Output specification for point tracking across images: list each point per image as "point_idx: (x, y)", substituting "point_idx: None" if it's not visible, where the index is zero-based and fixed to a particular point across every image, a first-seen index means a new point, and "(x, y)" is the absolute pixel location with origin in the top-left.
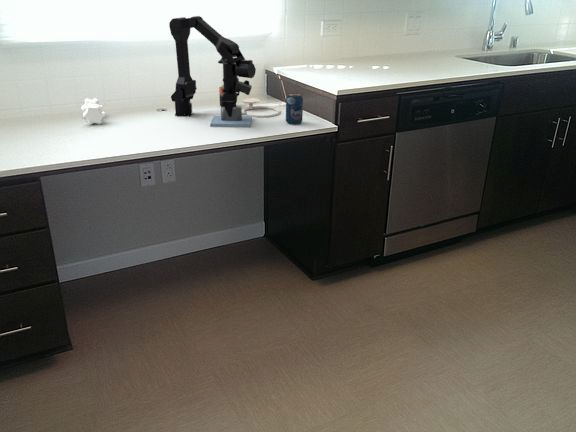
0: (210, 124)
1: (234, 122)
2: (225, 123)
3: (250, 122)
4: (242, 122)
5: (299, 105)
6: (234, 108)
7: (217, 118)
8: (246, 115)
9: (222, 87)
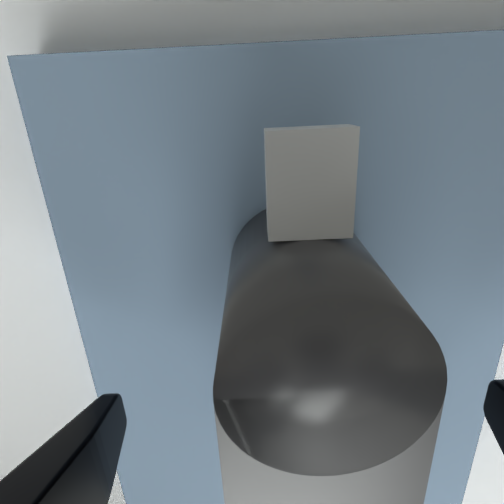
0: (457, 494)
1: (436, 287)
2: (474, 380)
3: (390, 38)
4: (443, 174)
5: None
6: (380, 444)
7: None
8: (346, 124)
9: None
